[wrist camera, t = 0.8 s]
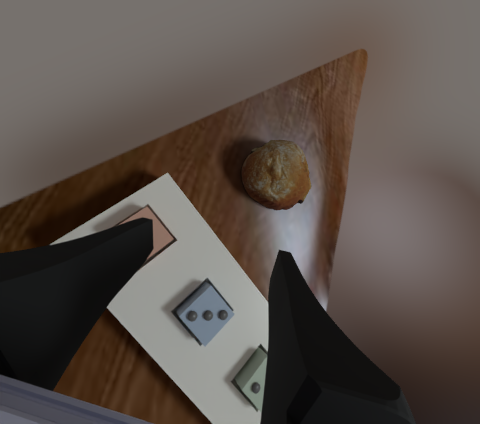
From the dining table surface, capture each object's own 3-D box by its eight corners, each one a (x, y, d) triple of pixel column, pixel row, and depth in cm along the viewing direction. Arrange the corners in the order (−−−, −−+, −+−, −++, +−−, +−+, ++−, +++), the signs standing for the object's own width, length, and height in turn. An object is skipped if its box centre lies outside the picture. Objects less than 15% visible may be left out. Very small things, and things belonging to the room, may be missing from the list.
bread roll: (262, 153, 37) (272, 114, 29) (315, 184, 35) (338, 150, 27) (228, 191, 33) (228, 157, 26) (284, 229, 31) (302, 203, 24)
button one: (137, 265, 21) (136, 267, 19) (111, 234, 21) (106, 232, 18) (171, 239, 23) (174, 238, 20) (147, 210, 22) (147, 205, 20)
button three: (199, 337, 22) (205, 347, 20) (175, 309, 22) (179, 317, 20) (226, 308, 24) (235, 314, 22) (205, 281, 24) (211, 285, 21)
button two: (254, 401, 24) (265, 418, 21) (232, 376, 23) (242, 391, 21) (276, 369, 25) (289, 382, 23) (257, 345, 25) (268, 356, 23)
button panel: (232, 433, 24) (242, 457, 22) (62, 244, 21) (49, 244, 18) (294, 345, 29) (309, 355, 27) (165, 180, 26) (167, 172, 23)
